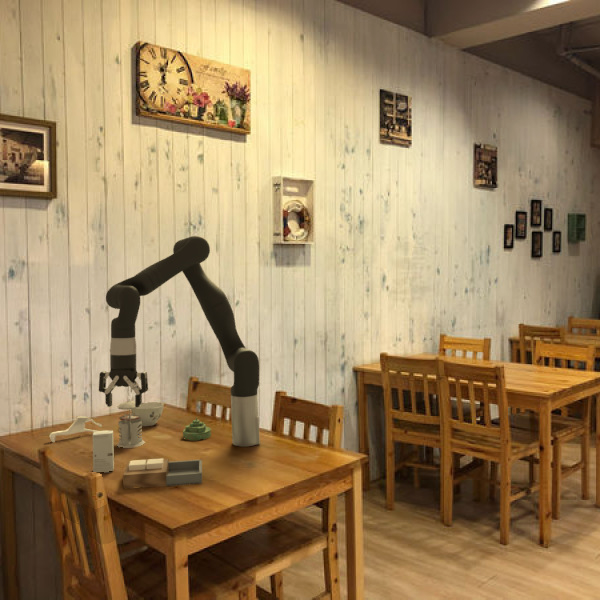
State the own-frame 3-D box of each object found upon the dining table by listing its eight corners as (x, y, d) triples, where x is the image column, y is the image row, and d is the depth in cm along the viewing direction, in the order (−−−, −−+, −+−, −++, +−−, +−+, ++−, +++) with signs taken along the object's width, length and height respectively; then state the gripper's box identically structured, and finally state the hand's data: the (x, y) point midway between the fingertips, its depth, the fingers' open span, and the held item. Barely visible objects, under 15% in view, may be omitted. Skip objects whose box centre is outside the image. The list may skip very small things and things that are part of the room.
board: (169, 471, 194) (168, 459, 194) (166, 485, 182) (166, 471, 182) (128, 474, 192) (128, 461, 192) (123, 489, 180) (123, 475, 180)
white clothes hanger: (92, 449, 241) (47, 440, 230) (102, 420, 243) (57, 410, 232) (94, 450, 240) (48, 441, 228) (104, 421, 242) (59, 410, 231)
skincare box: (93, 474, 194) (91, 434, 193) (94, 469, 199) (92, 431, 198) (114, 471, 196) (112, 433, 195) (114, 467, 200) (113, 429, 199)
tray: (202, 468, 196) (201, 459, 196) (202, 483, 183) (201, 473, 183) (169, 471, 195) (168, 461, 194) (166, 486, 182) (166, 475, 182)
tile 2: (163, 463, 190) (163, 458, 190) (162, 468, 185) (162, 463, 185) (148, 464, 189) (147, 459, 189) (146, 469, 185) (146, 464, 185)
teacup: (170, 424, 251) (169, 404, 251) (141, 430, 243) (140, 410, 242) (151, 417, 262) (150, 398, 262) (123, 423, 254) (122, 404, 253)
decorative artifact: (190, 442, 226) (215, 437, 231) (189, 423, 225) (215, 418, 231) (178, 436, 234) (203, 431, 240) (178, 417, 234) (202, 413, 239)
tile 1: (146, 464, 189) (146, 459, 189) (145, 469, 185) (144, 464, 185) (130, 465, 189) (130, 460, 188) (129, 470, 184) (128, 465, 184)
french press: (146, 439, 231) (143, 370, 229) (143, 448, 220) (140, 376, 218) (118, 441, 229) (115, 372, 228) (114, 450, 218) (111, 378, 216)
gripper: (150, 351, 193) (150, 404, 194) (104, 350, 194) (105, 403, 195) (142, 354, 186) (142, 409, 186) (95, 353, 187) (95, 408, 187)
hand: (123, 406), depth 191 cm, fingers open, 8 cm apart
